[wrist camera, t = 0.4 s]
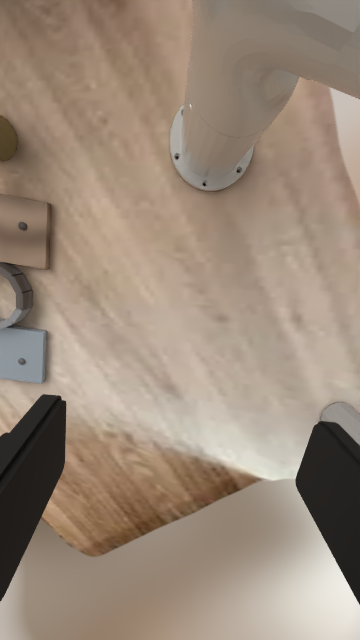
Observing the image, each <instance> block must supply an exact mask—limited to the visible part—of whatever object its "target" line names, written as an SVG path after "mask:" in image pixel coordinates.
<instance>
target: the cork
mask: <svg viewBox="0 0 360 640" xmlns="http://www.w3.org/2000/svg"><path fill="white" fill-rule="evenodd" d="M16 149H17V135H16V132H15V130H14V128H13V126H12V125H11V124H10V122H9V121H8V120H7V119H5V118H4V117H3V116H1V115H0V161H5V160H8V159H10V158H11V157H12V156H13V155H14V153H15V151H16Z"/></svg>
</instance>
